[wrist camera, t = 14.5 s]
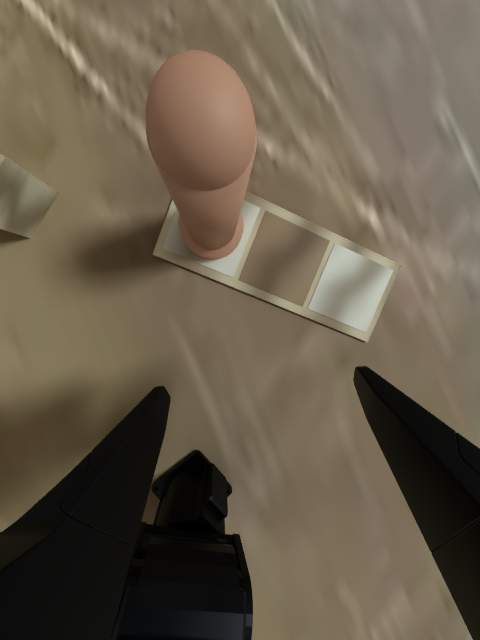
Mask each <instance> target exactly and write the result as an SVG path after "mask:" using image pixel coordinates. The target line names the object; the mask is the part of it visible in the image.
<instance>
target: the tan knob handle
mask: <svg viewBox="0 0 480 640" xmlns="http://www.w3.org/2000/svg"><path fill="white" fill-rule="evenodd" d="M146 134H147V141H148V145H149V149H150V151H151V154H152V156H153V159H154V161H155V163H156V165H157V167H158V169H159V171H160V174H161V176H162V178H163V180H164V182H165V184H166V186H167V189H168V191H169V193H170V195H171V197H172V199H173V201H174V204H175V206H176V208H177V210H178V212H179V220H178V224H179V230H180V234H181V236H182V238H183V240H184V242H185V244H186V245H187V247H188V248H189V249H190V250H191V251H192V252H193V253H194V254H196V255H198V256H200V257H202V258H205V259H210V260H215V259H221V258H224V257H226V256H228V255H229V254H231V253H232V252H233V251H234V250H235V249H236V248H237V246H238V244H239V242H240V240H241V237H242V234H243V229H244V222H243V216H242V213H241V208H242V204H243V200H244V196H245V192H246V188H247V184H248V180H249V177H250V173H251V169H252V165H253V161H254V157H255V153H256V147H257V130H256V125H255V117H254V112H253V107H252V104H251V101H250V98H249V95H248V93H247V90H246V88H245V86H244V84H243V83H242V81H241V80H240V78H239V77H238V75H237V74H236V73H235V71H234V70H233V69H232V68H231V67H230V66H229V65H228V64H227V63H225V62H224V61H223V60H222V59H220V58H219V57H217V56H215V55H213V54H211V53H209V52H205V51H200V50H188V51H183V52H180V53H178V54H176V55H174V56H172V57H171V58H170V59H168V60H167V61H166V62H165V63H164V64H163V65H162V66H161V67H160V69H159V70H158V71H157V73H156V75H155V77H154V79H153V81H152V83H151V86H150V89H149V93H148V97H147V103H146Z"/></svg>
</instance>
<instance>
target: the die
mask: <svg viewBox="0 0 480 640" xmlns="http://www.w3.org/2000/svg"><path fill="white" fill-rule="evenodd" d="M58 193H59V192H57V191H56V190H54V189H53V188H51V187H50V186H48V185H47V184H45V183H44V182H42V181H41V180H39V179H38V178H36V177H35V176H33V175H32V174H30V173H29V172H27V171H26V170H24V169H23V168H21V167H20V166H18V165H17V164H15V163H14V162H12V161H11V160H9V159H8V158H6V157H4V156H3V155H1V154H0V229H2V230H5V231H9V232H12V233H15V234H18V235H21V236H24V237H28V238H31V237H32V235H33V234H34V232H35V230H36V229H37V227H38V225H39V224H40V222H41V221H42V219H43V217H44V216H45V214H46V213H47V211H48V209H49V208H50V206H51V205H52V203H53V201H54V200H55V198H56V196H57V195H58Z"/></svg>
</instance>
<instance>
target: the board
mask: <svg viewBox="0 0 480 640" xmlns="http://www.w3.org/2000/svg"><path fill="white" fill-rule="evenodd" d="M241 213H242V216H243V222H244V229H243V234H242V237H241V240H240V242H239V244H238V246H237V248H236V249H235V250H234V251H233V252H232V253H231V254H229V255H228V256H226V257H224V258H221V259H215V260H210V259H205V258H202V257H200V256H198V255H196V254H194V253H193V252H192V251H191V250H190V249H189V248H188V247H187V245H186V244H185V242H184V240H183V238H182V236H181V234H180V230H179V224H178V220H179V212H178V210H177V208H176V206H175V204H174V201H173V199H172V202H171V205H170V208H169V210H168V213H167V216H166V219H165V221H164V224H163V227H162V230H161V232H160V235H159V238H158V241H157V243H156V246H155V249H154V252H153V255H155V256H157V257H160V258H162V259H164V260H167V261H169V262H172V263H174V264H177V265H179V266H182V267H184V268H186V269H189V270H191V271H194V272H196V273H199V274H201V275H204V276H206V277H209V278H211V279H213V280H216V281H218V282H221V283H223V284H226V285H228V286H231V287H233V288H236V289H238V290H240V291H243V292H245V293H248V294H250V295H253V296H255V297H258V298H260V299H262V300H265V301H267V302H270V303H272V304H275V305H277V306H280V307H282V308H285V309H287V310H289V311H292V312H294V313H297V314H299V315H302V316H304V317H307V318H309V319H312V320H314V321H316V322H319V323H321V324H324V325H326V326H329V327H331V328H334V329H336V330H338V331H341V332H343V333H346V334H348V335H351V336H353V337H356V338H358V339H361V340H363V341H365V342H368V340H369V338H370V336H371V333H372V331H373V329H374V327H375V324H376V322H377V320H378V317H379V315H380V313H381V311H382V308H383V306H384V304H385V302H386V299H387V297H388V295H389V292H390V290H391V288H392V286H393V283H394V281H395V279H396V276H397V274H398V272H399V270H400V267H401V265H400V264H398V263H396V262H393V261H391V260H389V259H387V258H385V257H383V256H381V255H379V254H377V253H375V252H372V251H370V250H368V249H366V248H364V247H362V246H360V245H358V244H356V243H354V242H352V241H349V240H347V239H345V238H343V237H341V236H339V235H337V234H335V233H333V232H331V231H329V230H326V229H324V228H322V227H320V226H318V225H316V224H314V223H312V222H310V221H308V220H306V219H303V218H301V217H299V216H297V215H295V214H293V213H291V212H289V211H287V210H285V209H283V208H280V207H278V206H276V205H274V204H272V203H270V202H268V201H266V200H264V199H262V198H259V197H257V196H255V195H253V194H251V193H249V192H247V191H246V192H245V196H244V200H243V204H242V208H241Z"/></svg>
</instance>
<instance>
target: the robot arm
mask: <svg viewBox="0 0 480 640" xmlns="http://www.w3.org/2000/svg"><path fill="white" fill-rule="evenodd" d="M353 381H354V385H355V388H356V391H357V394H358V396H359V399H360V402H361V405H362V408H363V410H364V413H365V416H366V418H367V421H368V423H369V425H370V427H371V429H372V431H373V433H374V435H375V437H376V439H377V442H378V444H379V446H380V448H381V450H382V452H383V454H384V456H385V458H386V460H387V462H388V464H389V466H390V468H391V471H392V473H393V475H394V477H395V479H396V481H397V483H398V485H399V487H400V489H401V491H402V493H403V495H404V497H405V499H406V502H407V504H408V506H409V508H410V510H411V512H412V514H413V516H414V518H415V520H416V522H417V524H418V526H419V528H420V531H421V533H422V535H423V537H424V539H425V541H426V543H427V545H428V547H429V549H430V551H431V552H432V556H433V558H434V560H435V562H436V564H437V566H438V568H439V570H440V572H441V574H442V576H443V578H444V581H445V583H446V585H447V587H448V589H449V591H450V593H451V595H452V597H453V599H454V601H455V603H456V605H457V607H458V610H459V612H460V614H461V616H462V618H463V620H464V622H465V624H466V626H467V628H468V630H469V632H470V634H471V636H472V639H473V640H480V449H479V448H478V447H477V446H475V445H474V444H472V443H471V442H470V441H468V440H467V439H466V438H464V437H463V436H461V435H460V434H459V433H456V432H455V431H454V430H453V429H452V428H450V427H449V426H448V425H446V424H445V423H444V422H442V421H441V420H439V419H438V418H437V417H435V416H434V415H433V414H431V413H430V412H428V411H427V410H426V409H424V408H423V407H422V406H420V405H419V404H418V403H416V402H415V401H413V400H412V399H411V398H409V397H408V396H407V395H405V394H404V393H403V392H401V391H400V390H398V389H397V388H396V387H394V386H393V385H392V384H390V383H389V382H388V381H386V380H385V379H383V378H382V377H381V376H379V375H378V374H377V373H375V372H374V371H372V370H371V369H370V368H368V367H367V366H358V367H356V368H355V372H354V379H353ZM169 406H170V395H169V393H168V392H167V390H166V388H165V387H164V386H157V387H155V388H153V389H152V390H151V391H150V392H149V393H148V394H147V395H146V396H145V397H144V398H143V399H142V401H141V402H140V403H139V404H138V405H137V406H136V407H135V408H134V409H133V410H132V411H131V412H130V413H129V414H128V415H127V416H126V417H125V418H124V419H123V420H122V421H121V422H120V423H119V424H118V425H117V426H116V427H115V428H114V429H113V430H112V431H111V432H110V433H109V434H108V435H107V436H106V437H105V438H104V439H103V440H102V441H101V442H100V443H99V444H98V445H97V446H96V447H95V448H94V449H93V450H92V451H91V453H89V454H88V455H87V456H86V457H85V458H84V459H83V460H82V461H81V462H80V463H79V464H78V465H77V466H76V467H75V468H74V469H73V470H72V471H71V472H70V473H69V474H68V475H67V476H66V477H65V478H63V479H62V480H61V481H60V482H59V483H58V484H57V485H56V486H55V487H54V488H53V489H52V490H50V491H49V492H48V493H47V494H46V495H45V496H44V497H43V498H42V499H41V500H39V501H38V502H37V503H36V504H35V505H34V506H33V507H32V508H31V509H30V510H28V511H27V512H26V513H25V514H24V515H23V516H22V517H21V518H19V519H18V520H17V521H16V522H15V523H13V524H12V525H11V526H9V527H8V528H7V529H5V530H4V531H2V532H0V640H251V637H252V623H253V600H252V587H251V580H250V575H249V571H248V567H247V563H246V559H245V555H244V551H243V547H242V543H241V539H240V535H239V534H233V535H229V534H225V519H224V518H226V517H227V514H228V507H227V497H228V496H229V495H230V494H231V493H232V487H231V485H230V484H229V483H228V482H227V481H226V478H225V476H224V475H223V474H222V473H221V472H220V471H219V470H218V469H217V467H216V466H215V465H214V464H213V463H210V462H209V460H208V459H207V458H206V457H205V456H204V455H203V454H202V453H201V452H200V451H195V452H193V453H192V454H191V455H189V456H188V457H187V458H186V459H184V460H183V461H182V462H180V463H179V464H178V465H176V466H175V467H174V468H173V469H171V470H170V471H169V472H167V473H166V474H165V475H163V476H162V477H161V478H159V479H158V480H157V481H156V482H154V483H153V486H152V488H151V490H152V492H153V493H154V494H155V495H156V496H157V497H158V498H159V499H160V502H159V506H158V509H157V513H156V516H155V520H154V523H153V525H151V524H146V522H141V521H142V517H143V513H144V509H145V506H146V502H147V498H148V494H149V491H150V487H151V483H152V479H153V476H154V472H155V468H156V464H157V461H158V457H159V453H160V450H161V446H162V442H163V438H164V434H165V430H166V425H167V419H168V412H169ZM196 455H198V456H199V457H196ZM156 487H158V488H156Z"/></svg>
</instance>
